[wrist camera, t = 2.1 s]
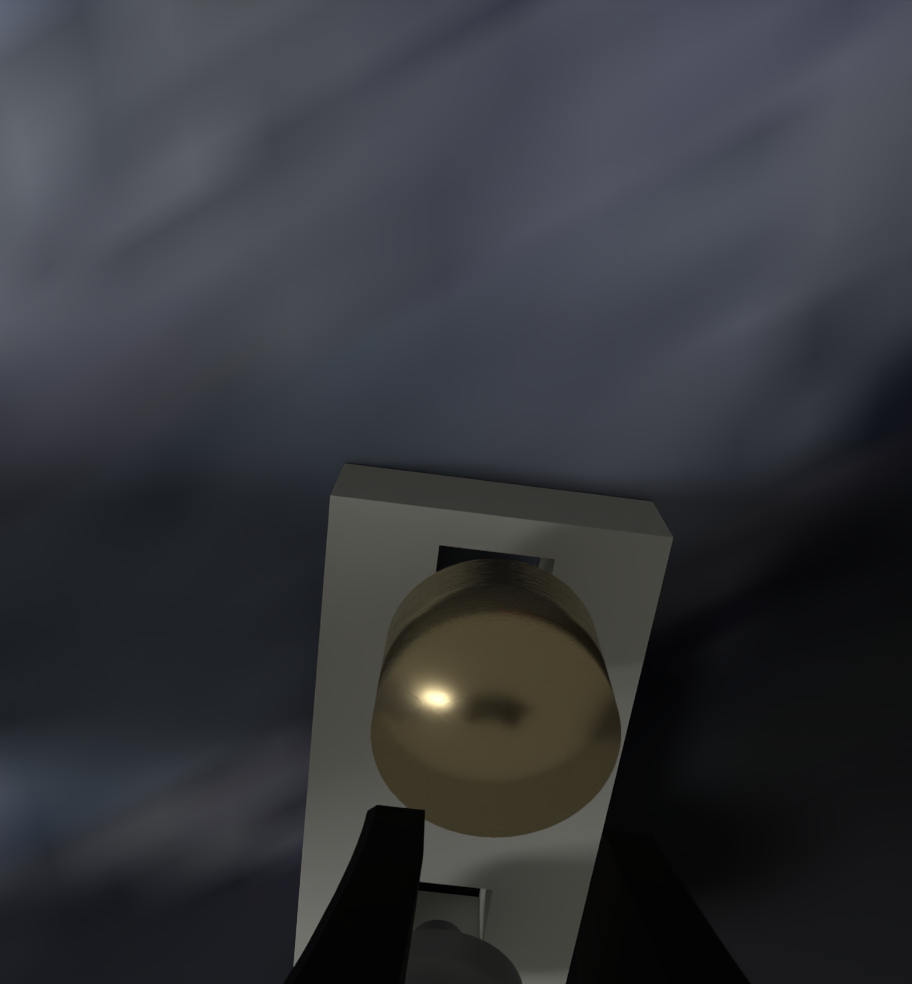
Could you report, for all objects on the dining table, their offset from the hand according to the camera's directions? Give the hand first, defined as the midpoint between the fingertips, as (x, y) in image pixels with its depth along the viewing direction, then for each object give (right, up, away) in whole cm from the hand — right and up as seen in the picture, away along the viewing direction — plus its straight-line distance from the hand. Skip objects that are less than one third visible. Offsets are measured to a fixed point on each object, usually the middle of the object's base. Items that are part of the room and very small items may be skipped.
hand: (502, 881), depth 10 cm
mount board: (-1, -5, +12) cm, 13 cm away
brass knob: (0, +2, +6) cm, 7 cm away
